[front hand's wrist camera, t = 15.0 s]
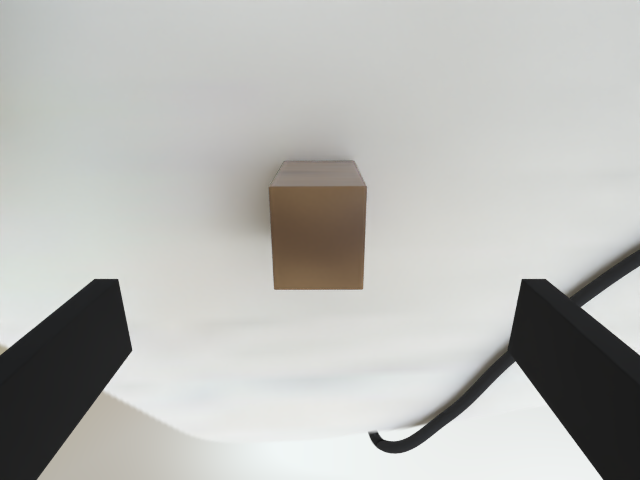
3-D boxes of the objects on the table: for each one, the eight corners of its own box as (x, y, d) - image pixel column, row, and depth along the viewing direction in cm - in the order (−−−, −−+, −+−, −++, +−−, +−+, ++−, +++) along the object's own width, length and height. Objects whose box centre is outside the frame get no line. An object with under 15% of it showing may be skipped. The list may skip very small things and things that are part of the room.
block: (352, 239, 29) (363, 289, 21) (286, 239, 29) (274, 289, 21) (354, 160, 27) (367, 186, 19) (283, 161, 27) (268, 186, 19)
